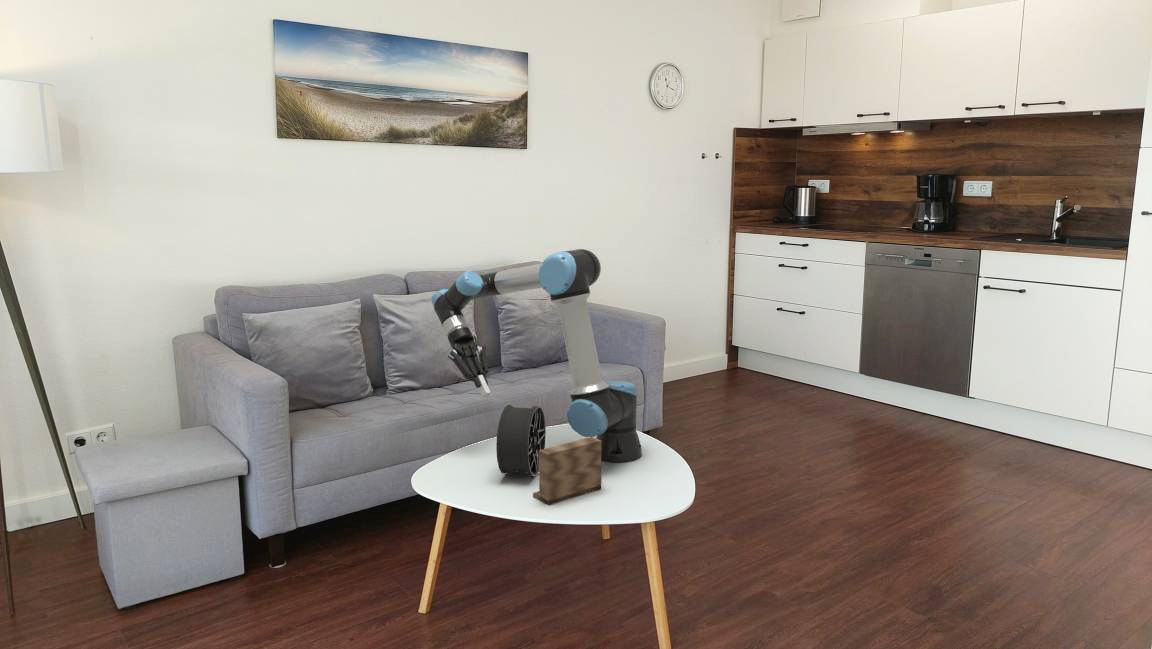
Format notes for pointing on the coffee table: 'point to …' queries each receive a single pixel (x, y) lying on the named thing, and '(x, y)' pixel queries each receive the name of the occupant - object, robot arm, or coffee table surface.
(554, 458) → the stop board
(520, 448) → the wheel rim
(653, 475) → the coffee table surface
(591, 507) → the coffee table surface
